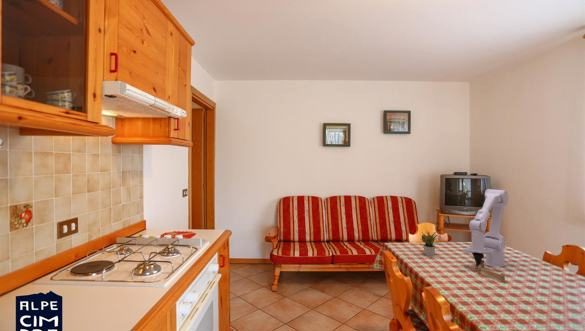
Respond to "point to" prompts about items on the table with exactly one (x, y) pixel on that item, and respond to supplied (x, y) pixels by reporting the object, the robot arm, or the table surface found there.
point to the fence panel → (481, 264)
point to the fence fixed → (491, 274)
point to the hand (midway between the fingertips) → (477, 266)
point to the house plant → (429, 244)
